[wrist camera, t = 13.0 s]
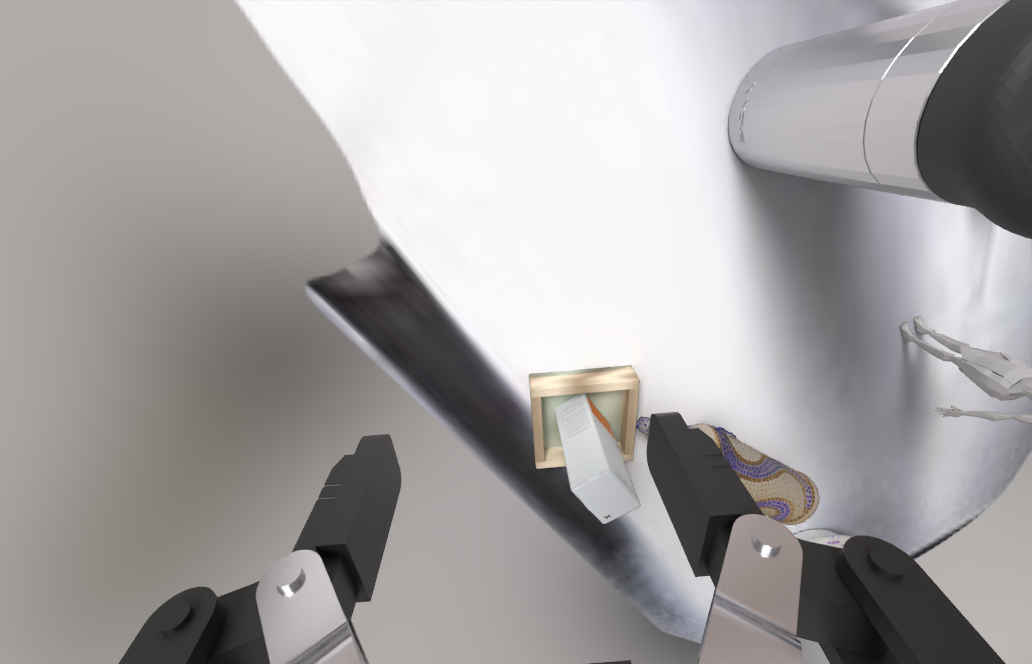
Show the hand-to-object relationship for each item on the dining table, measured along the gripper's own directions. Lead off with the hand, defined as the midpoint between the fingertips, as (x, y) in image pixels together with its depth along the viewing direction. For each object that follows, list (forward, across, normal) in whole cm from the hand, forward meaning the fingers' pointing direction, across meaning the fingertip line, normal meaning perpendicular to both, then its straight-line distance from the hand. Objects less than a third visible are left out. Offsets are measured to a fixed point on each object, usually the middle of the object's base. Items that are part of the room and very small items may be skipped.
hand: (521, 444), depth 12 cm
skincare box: (+27, -7, +22) cm, 36 cm away
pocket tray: (+28, -7, +22) cm, 36 cm away
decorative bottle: (+28, -25, +29) cm, 48 cm away
